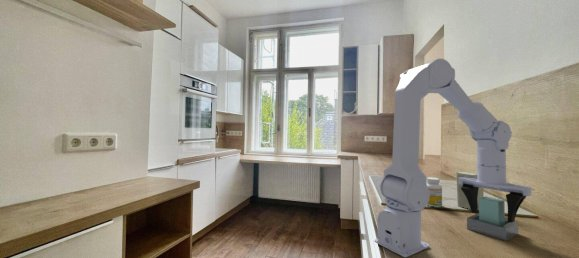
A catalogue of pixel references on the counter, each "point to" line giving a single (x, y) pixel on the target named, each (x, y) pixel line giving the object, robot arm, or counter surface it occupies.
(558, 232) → the counter surface
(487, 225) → the socket
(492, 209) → the peg
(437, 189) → the supplement bottle
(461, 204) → the skincare box
